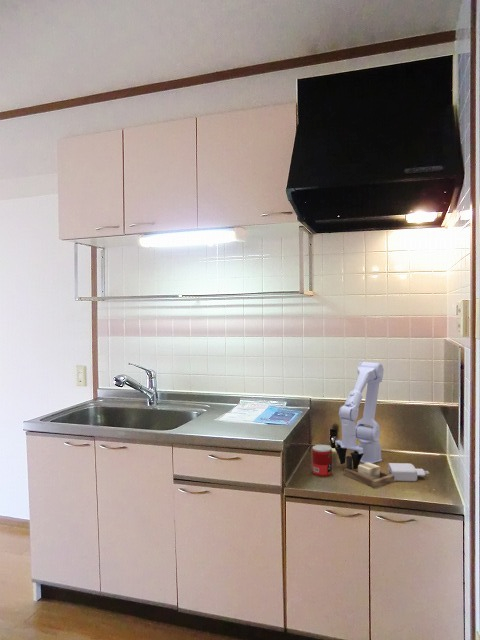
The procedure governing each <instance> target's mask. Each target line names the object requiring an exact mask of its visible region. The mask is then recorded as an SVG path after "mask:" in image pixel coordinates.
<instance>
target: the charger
mask: <svg viewBox="0 0 480 640" xmlns="http://www.w3.org/2000/svg"><path fill="white" fill-rule="evenodd" d="M387 473H388V474H391V475H394V482H398V481H399V482H416V481H418V477H425V476H426V474H427V475H428V474H430V472H429V471H428V470H424V469H423V468H416V467H415V465H414V464H412V463H407V462H406V463H402V462H401V463H400V462H388V463H387Z"/></svg>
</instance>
